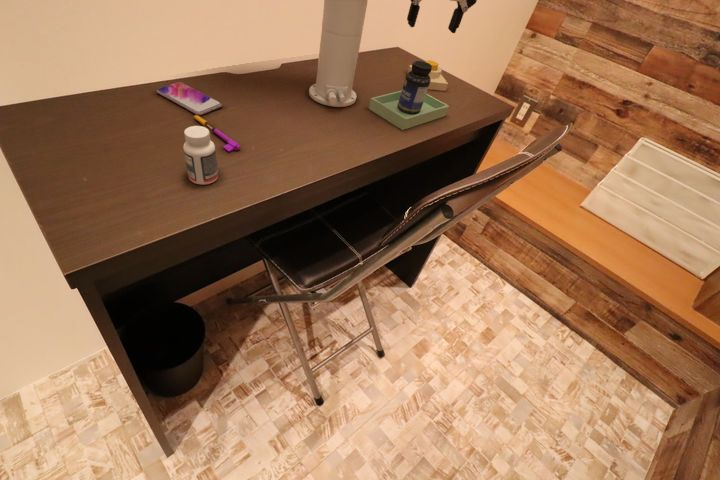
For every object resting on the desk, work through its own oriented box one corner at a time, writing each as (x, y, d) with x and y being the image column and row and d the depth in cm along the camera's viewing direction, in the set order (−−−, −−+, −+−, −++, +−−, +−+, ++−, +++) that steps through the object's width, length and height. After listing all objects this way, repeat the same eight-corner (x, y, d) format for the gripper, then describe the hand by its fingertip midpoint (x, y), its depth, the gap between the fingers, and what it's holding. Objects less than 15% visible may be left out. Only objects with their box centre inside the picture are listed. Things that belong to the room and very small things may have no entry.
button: (438, 72, 108) (440, 66, 107) (425, 71, 107) (427, 64, 106) (434, 67, 111) (436, 61, 109) (421, 65, 110) (423, 59, 109)
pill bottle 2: (392, 105, 95) (405, 59, 87) (411, 103, 97) (425, 58, 89) (405, 116, 92) (419, 69, 83) (424, 114, 94) (440, 68, 86)
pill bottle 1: (220, 170, 68) (216, 125, 62) (215, 186, 65) (210, 141, 58) (191, 167, 68) (184, 122, 61) (185, 184, 64) (176, 137, 58)
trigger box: (445, 91, 108) (450, 77, 105) (416, 88, 107) (421, 74, 104) (434, 75, 116) (438, 61, 113) (407, 72, 115) (411, 58, 112)
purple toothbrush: (242, 148, 73) (197, 117, 80) (240, 144, 72) (195, 112, 79) (231, 155, 73) (187, 122, 79) (230, 150, 72) (185, 118, 78)
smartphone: (198, 113, 80) (155, 89, 85) (199, 117, 80) (155, 93, 85) (223, 103, 84) (180, 81, 89) (223, 107, 85) (181, 84, 89)
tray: (411, 97, 102) (414, 87, 100) (445, 116, 96) (449, 105, 94) (368, 108, 94) (370, 97, 92) (402, 130, 88) (405, 119, 86)
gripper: (426, -82, 65) (398, 28, 77) (514, -65, 67) (472, 39, 80) (415, -87, 69) (390, 17, 82) (498, -71, 72) (461, 28, 85)
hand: (431, 28), depth 81 cm, fingers open, 9 cm apart
